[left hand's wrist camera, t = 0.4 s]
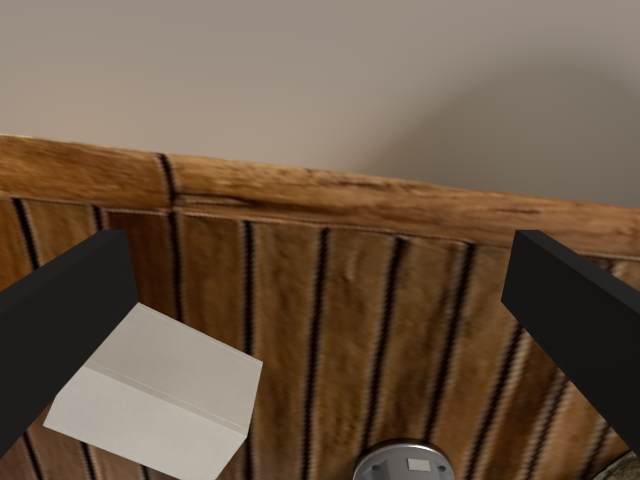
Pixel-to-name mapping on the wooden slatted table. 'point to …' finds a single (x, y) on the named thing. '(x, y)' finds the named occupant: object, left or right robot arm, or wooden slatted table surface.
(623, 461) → the fossil
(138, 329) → the cabinet
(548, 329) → the left robot arm
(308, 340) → the wooden slatted table surface
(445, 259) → the wooden slatted table surface
